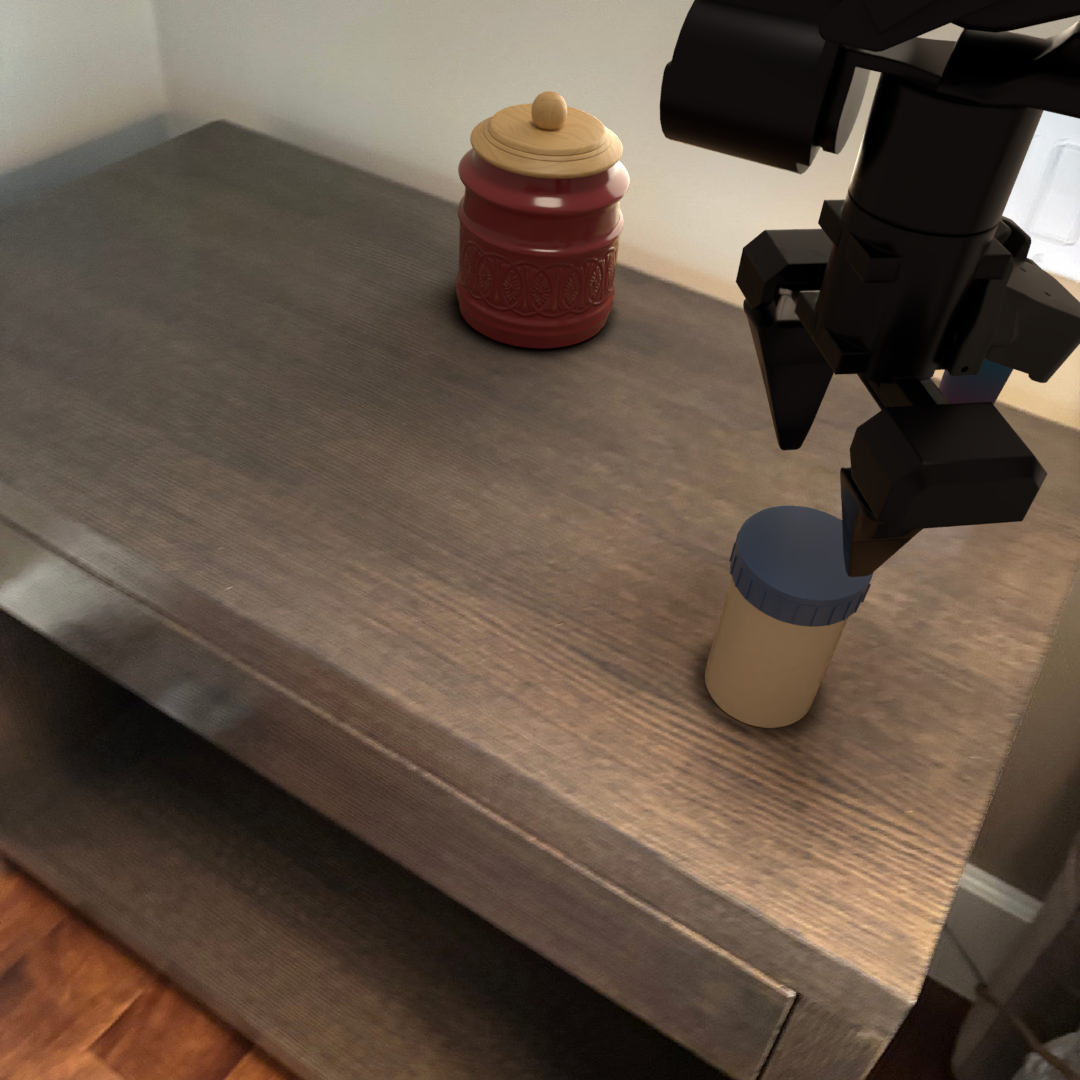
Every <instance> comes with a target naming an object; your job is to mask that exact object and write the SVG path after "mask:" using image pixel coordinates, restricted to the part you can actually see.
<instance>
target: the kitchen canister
mask: <svg viewBox="0 0 1080 1080" xmlns="http://www.w3.org/2000/svg"><path fill="white" fill-rule="evenodd" d="M469 141H470V145H471V147H472V148H470V149H469V150H468V151H466V152H465V154H463V156H461V158H460V161H459V163H458V166H457V172H458V173H457V174H458V177H459V179H460V181H461V184H463V186H464V194H463V196H462V197H461V199H460V201H459V203H458V205H457V216H458V220H459V238H458V270H457V273H456V278H455V284H456V286H455V293H456V298H457V301H458V307H459V312H460V314H461V316H462V318H463V319H464V321H466V323H467V324H468V325H469V326H470V327H472V329H474V330H476V331H477V332H478V333H480V334H481V335H484V336H485V337H487V338H490V339H491V340H494V341H496V342H499V343H503V344H506V345H509V346H515V347H520V348H527V349H556V348H557V349H558V348H562V347H563V348H565V347H568V346H573V345H576V344H579V343H583V342H584V341H586V340H589V339H591V338H592V337H594V336H595V335H597V334H598V333H599V332H600V331H601V330H602V329H603V328H604V327H605V325H606V323H607V321H608V319H609V315H610V313H611V311H612V309H613V305H614V298H615V292H616V290H615V283H614V282H615V276H616V268H617V261H618V260H617V259H618V254H619V247H620V239H621V234H622V233H623V231H624V226H625V217H624V214H623V212H622V210H621V200H622V199H623V198H624V197H625V195H626V194H627V193H628V191H629V188H630V185H631V184H630V183H631V178H630V174H629V171H628V170H627V168H626V167H625V165H623V163H622V162H621V161H620V160H621V158H622V156H623V152H624V147H623V143H622V141H621V139H620V138H619V137H618V135H616V133H615V132H613V131H612V130H611V129H609V128H608V127H607V126H605V125H604V123H603V122H602V121H601V120H600V119H598V118H597V117H596V116H594V115H593V114H590V113H588V112H586V111H584V110H582V109H579V108H575V107H571V106H567V102H566V100H565V98H564V97H563V96H562V95H561V94H560V93H558V92H555V91H553V90H552V91H551V90H547V91H543V92H540V93H539V94H537V96H535V98H534V100H533V102H531V103H530V102H529V103H520V104H516V105H511V106H508V107H504V108H502V109H500V110H498V111H496V113H494V114H493V115H492V116H490V117H487V118H485V119H484V120H482V121H480V122H478V123H477V125H475V126H474V127H473V128H472V130H471V132H470V136H469Z"/></svg>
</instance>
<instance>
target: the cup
mask: <svg viewBox="0 0 1080 1080" xmlns="http://www.w3.org/2000/svg"><path fill="white" fill-rule="evenodd" d="M1013 371H1014V369H1012V368H1009V367H1006V366H1003V365H1000V364H997V363H995V362H992V361H989V360H987V359H984V361H983V364H982V366H981V368H980V371H979V373H978V375H963V376H951V375H950V374H949V373H948V371H947V370H943V373H942V376H941V379H940V382H939V385H938V388H939V390H940V391H941V392H942V394H943V395H944V396H945V398H946V399H947V400H948V402H949V403H950V404H957V403H976V402H992V404H993V405H994V406H995V403H996V401H998V398H999V396H1000V394H1001V392H1002V391H1003V389H1004V387H1005V385H1006V384H1007V382H1008V380H1009V378H1010V376H1011V375H1012V373H1013Z"/></svg>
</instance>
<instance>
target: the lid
mask: <svg viewBox="0 0 1080 1080" xmlns="http://www.w3.org/2000/svg"><path fill="white" fill-rule="evenodd" d="M728 561H729V562H730V563H729V565H730V566H729V568H730V570H729V575H730V576H731V578H732V579H733V581H734V583H735V587H737V589H738V590H739V592H740V593H741V595H742V596H743V597H744V598H745V599H746V600H747V601H748V602H749V603H750V604H751V605H753V606H754V607H755V608H757V609H758V610H760V611H761V612H763V613H765V614H766V615H768V616H770V617H772V618H774V619H777V620H780V621H782V622H786V623H789V624H793V625H799V626H808V627H819V626H827V625H828V626H829V625H831V624H835V623H838V622H841V621H845V619H846V618H848V619H849V618H850V617H851V616H852V615H853V614H857V612H858V610H859V607H860V606H861V604H864V601H865V599H866V598H867V595H868V593H869V590H870V588H871V585H872V584H871V581H872V578H873V575H874V573H875V571H874V572H873V573H872V574H871V575H868V576H862V577H849V576H848V575H847V573H846V571H845V562H844V552H843V530H842V518H839V517H837V516H836V515H833V514H831V513H829V512H826V511H824V510H821V509H818V508H814V507H809V506H803V505H796V504H781V505H774V506H770V507H766V508H762V509H760V510H758V511H756V512H754V513H753V514H751V515H750V516H749V517H748V518H747V519H745V521H744V522H743V523H742V525H741V526H740V529H738V531H737V534H736V538H735V541H734V542H733V546H732V550H731V551H730V556H729V560H728Z"/></svg>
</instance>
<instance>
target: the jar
mask: <svg viewBox="0 0 1080 1080" xmlns="http://www.w3.org/2000/svg"><path fill="white" fill-rule="evenodd" d="M848 620H849V617H848V618H846V619H845V621H841V622H838V623H835V624H831V625H829V626H828V625H827V626H819V627H808V626H799V625H793V624H789V623H786V622H782V621H780V620H777V619H774V618H772V617H770V616H768V615H766V614H765V613H763V612H761V611H760V610H758V609H757V608H755V607H754V606H753V605H751V604H750V603H749V602H748V601H747V600H746V599H745V598H744V597H743V596H742V595H741V593H740V592H739V590H738V589H737V587H735V583H734V581H733V579H732V577H731V579H730V582H729V586H728V589H727V593H726V595H725V600H724V603H723V606H722V610H721V613H720V617H719V620H718V623H717V627H716V631H715V634H714V637H713V641H712V644H711V648H710V651H709V654H708V657H707V662H706V665H705V669H704V682H705V686H706V689H707V691H708V694H709V695H710V697H711V699H712V700H713V701H714V703H715V704H716V705H717V706H718V707H719V708H720V709H721V710H722V711H723V712H725V713H726V714H727V715H728V716H730V717H732V718H733V719H735V720H737V721H739V722H741V723H743V724H746V725H749V726H753V727H756V728H757V727H758V728H764V729H776V728H778V729H779V728H783V727H787V726H790V725H792V724H796V723H797V722H798V721H800V720H801V719H803V718H804V717H805V716H806V715H807V713H809V711H810V710H811V707H812V705H813V703H814V701H815V698H816V696H817V693H818V692H819V689H820V687H821V684H822V682H823V679H824V676H825V675H826V672H827V669H828V667H829V665H830V662H831V660H832V657H833V655H834V652H835V650H836V649H837V646H838V644H839V641H840V639H841V636H842V634H843V632H844V629H845V627H846V624H847V622H848Z"/></svg>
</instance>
